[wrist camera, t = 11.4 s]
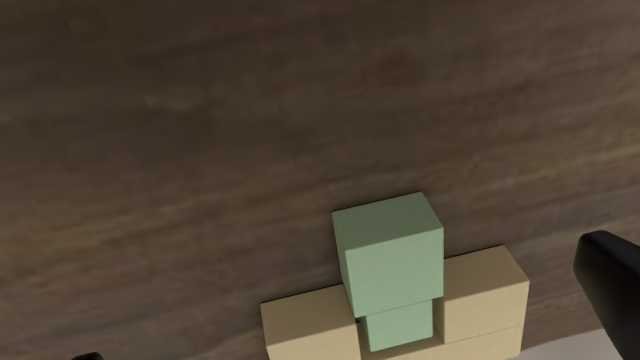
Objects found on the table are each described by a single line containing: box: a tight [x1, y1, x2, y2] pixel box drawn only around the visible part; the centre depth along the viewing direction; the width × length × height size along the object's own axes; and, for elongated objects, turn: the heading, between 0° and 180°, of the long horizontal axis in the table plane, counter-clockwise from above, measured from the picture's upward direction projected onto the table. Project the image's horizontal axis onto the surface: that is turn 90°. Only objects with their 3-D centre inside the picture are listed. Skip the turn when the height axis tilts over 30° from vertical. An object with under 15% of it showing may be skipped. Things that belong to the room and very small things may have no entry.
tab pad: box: [332, 192, 444, 352], centre depth 24 cm, size 7×4×2 cm, turn 8°
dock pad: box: [260, 245, 530, 360], centre depth 26 cm, size 12×6×2 cm, turn 98°
